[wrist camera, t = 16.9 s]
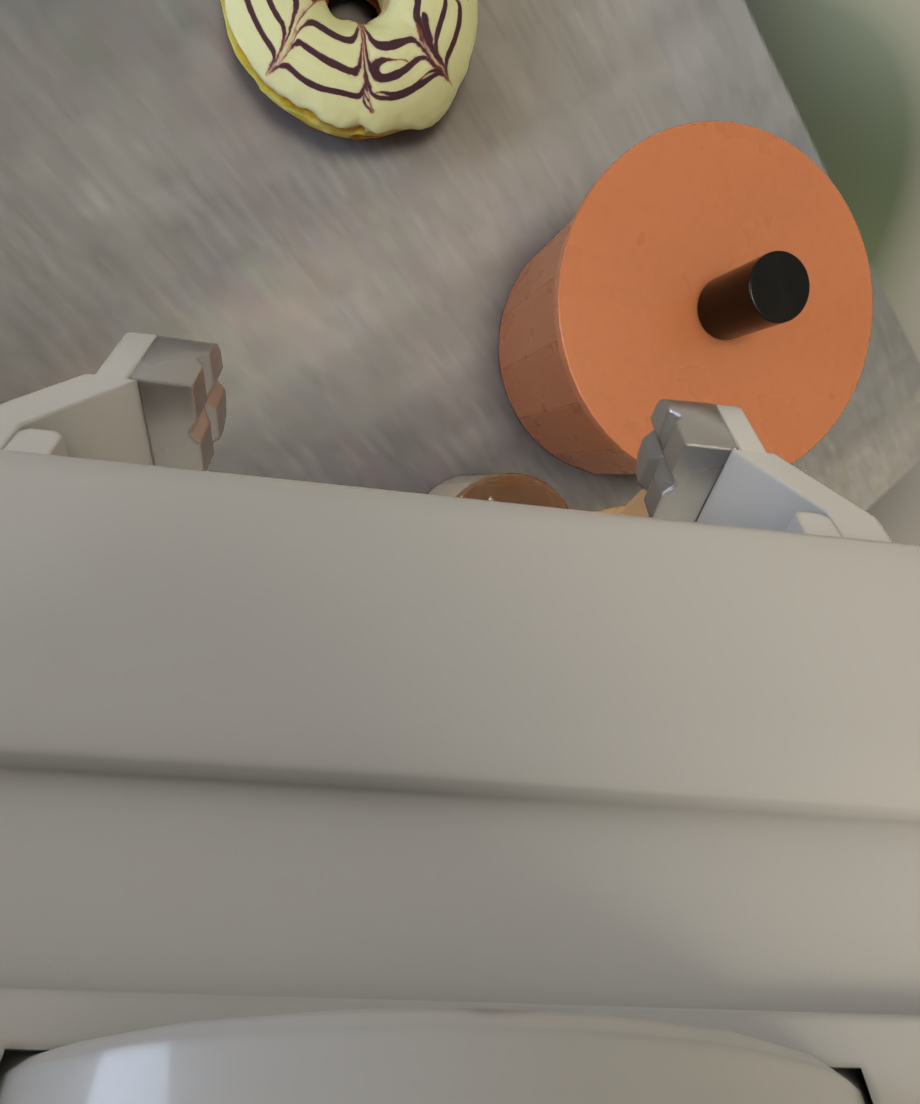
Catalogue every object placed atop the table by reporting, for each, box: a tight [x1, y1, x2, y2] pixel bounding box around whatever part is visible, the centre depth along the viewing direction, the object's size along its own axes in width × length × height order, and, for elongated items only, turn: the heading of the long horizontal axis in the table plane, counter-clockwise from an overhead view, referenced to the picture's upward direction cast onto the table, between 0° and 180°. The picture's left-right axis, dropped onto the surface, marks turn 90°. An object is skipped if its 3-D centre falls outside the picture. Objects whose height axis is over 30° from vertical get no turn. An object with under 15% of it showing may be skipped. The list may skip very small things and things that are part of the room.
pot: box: [499, 220, 636, 474], centre depth 32 cm, size 13×13×9 cm
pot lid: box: [554, 121, 873, 464], centre depth 26 cm, size 14×14×4 cm
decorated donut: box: [221, 0, 478, 140], centre depth 30 cm, size 10×11×4 cm
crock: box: [428, 473, 649, 517], centre depth 27 cm, size 7×6×17 cm
